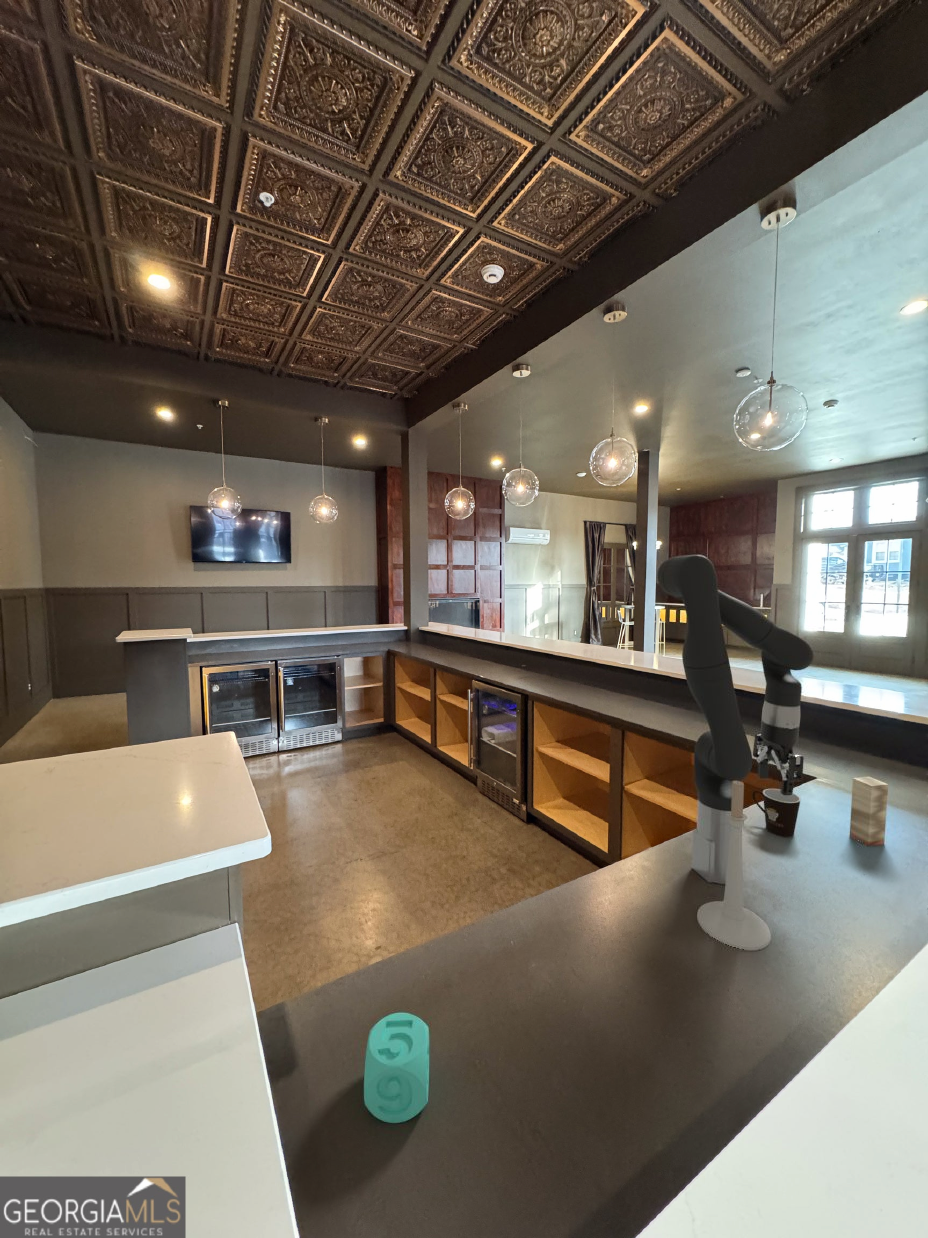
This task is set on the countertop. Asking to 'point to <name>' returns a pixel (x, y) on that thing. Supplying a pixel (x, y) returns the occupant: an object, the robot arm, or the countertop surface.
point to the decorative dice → (397, 1068)
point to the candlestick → (734, 893)
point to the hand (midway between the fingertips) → (774, 786)
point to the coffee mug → (779, 811)
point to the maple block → (868, 810)
